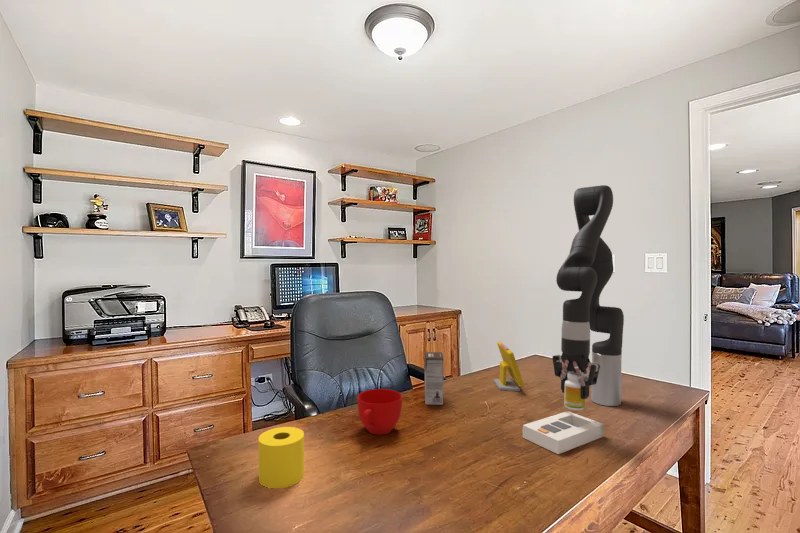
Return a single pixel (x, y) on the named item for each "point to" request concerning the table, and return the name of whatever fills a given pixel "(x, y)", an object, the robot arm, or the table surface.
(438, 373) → the coffee box
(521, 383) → the yellow framed monitor
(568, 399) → the supplement bottle
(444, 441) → the table surface
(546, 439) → the white bottle holder
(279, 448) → the yellow toilet paper roll
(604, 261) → the robot arm
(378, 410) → the ceramic cup
